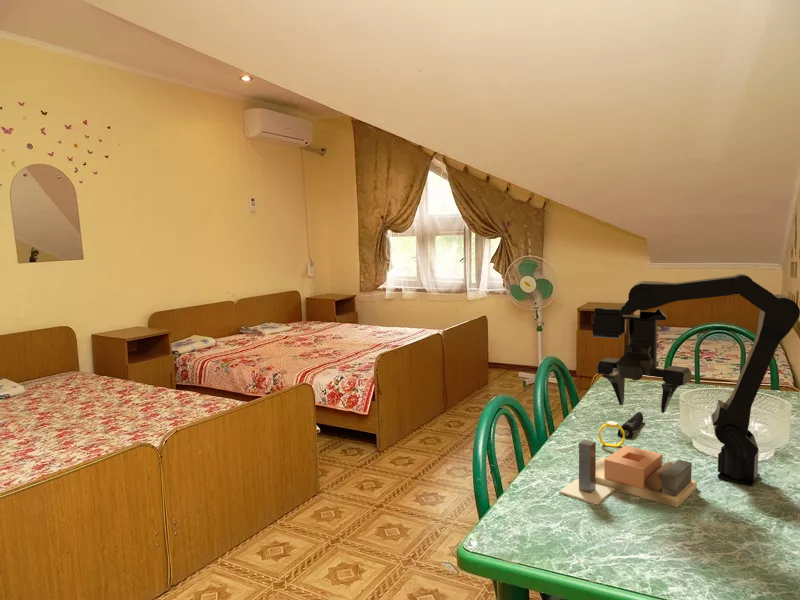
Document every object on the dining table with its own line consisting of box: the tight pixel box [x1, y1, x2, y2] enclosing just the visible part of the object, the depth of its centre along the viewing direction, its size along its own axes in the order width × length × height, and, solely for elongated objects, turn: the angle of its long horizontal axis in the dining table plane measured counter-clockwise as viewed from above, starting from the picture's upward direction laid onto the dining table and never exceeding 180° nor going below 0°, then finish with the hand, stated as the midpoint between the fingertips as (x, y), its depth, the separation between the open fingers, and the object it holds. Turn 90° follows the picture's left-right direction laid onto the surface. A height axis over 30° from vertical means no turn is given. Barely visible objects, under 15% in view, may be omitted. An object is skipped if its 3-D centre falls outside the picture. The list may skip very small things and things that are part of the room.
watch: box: [598, 420, 626, 448], centre depth 142 cm, size 6×3×6 cm, turn 70°
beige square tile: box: [559, 477, 616, 505], centre depth 119 cm, size 8×8×1 cm
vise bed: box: [596, 456, 698, 508], centre depth 121 cm, size 20×11×6 cm, turn 46°
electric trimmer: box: [617, 411, 644, 440], centre depth 154 cm, size 4×16×3 cm, turn 144°
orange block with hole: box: [604, 445, 663, 489], centre depth 122 cm, size 8×10×4 cm
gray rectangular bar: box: [578, 439, 597, 493], centre depth 118 cm, size 2×2×10 cm
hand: (641, 408), depth 129 cm, fingers open, 9 cm apart
